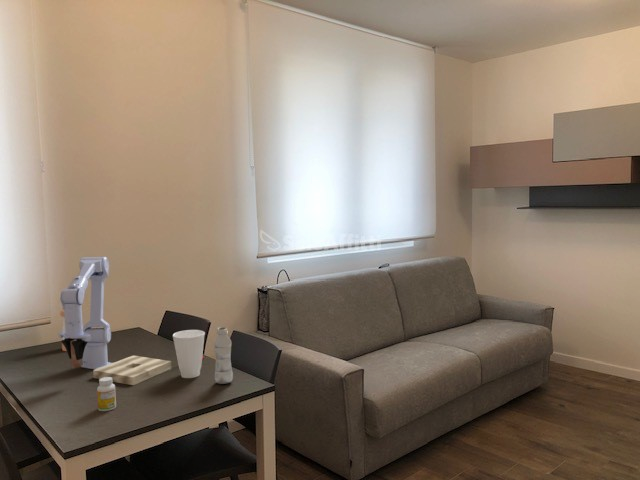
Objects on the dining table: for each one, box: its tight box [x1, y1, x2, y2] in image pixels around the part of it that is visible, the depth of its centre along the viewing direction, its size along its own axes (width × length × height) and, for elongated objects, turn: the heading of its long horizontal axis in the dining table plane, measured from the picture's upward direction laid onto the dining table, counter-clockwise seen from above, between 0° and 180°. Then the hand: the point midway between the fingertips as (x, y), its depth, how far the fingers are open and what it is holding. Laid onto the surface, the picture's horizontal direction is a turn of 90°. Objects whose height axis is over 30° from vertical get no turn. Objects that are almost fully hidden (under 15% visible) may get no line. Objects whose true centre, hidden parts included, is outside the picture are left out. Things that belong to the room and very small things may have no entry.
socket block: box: [92, 355, 172, 386], centre depth 207 cm, size 20×20×3 cm
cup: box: [172, 329, 206, 379], centre depth 203 cm, size 12×12×16 cm
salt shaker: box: [59, 309, 67, 352], centre depth 241 cm, size 7×7×19 cm
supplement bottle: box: [96, 377, 117, 412], centre depth 172 cm, size 5×5×10 cm
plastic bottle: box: [213, 326, 234, 385], centre depth 193 cm, size 6×7×20 cm
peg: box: [70, 340, 82, 369], centre depth 194 cm, size 3×3×10 cm
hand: (76, 358), depth 194 cm, fingers closed on peg, 3 cm apart
